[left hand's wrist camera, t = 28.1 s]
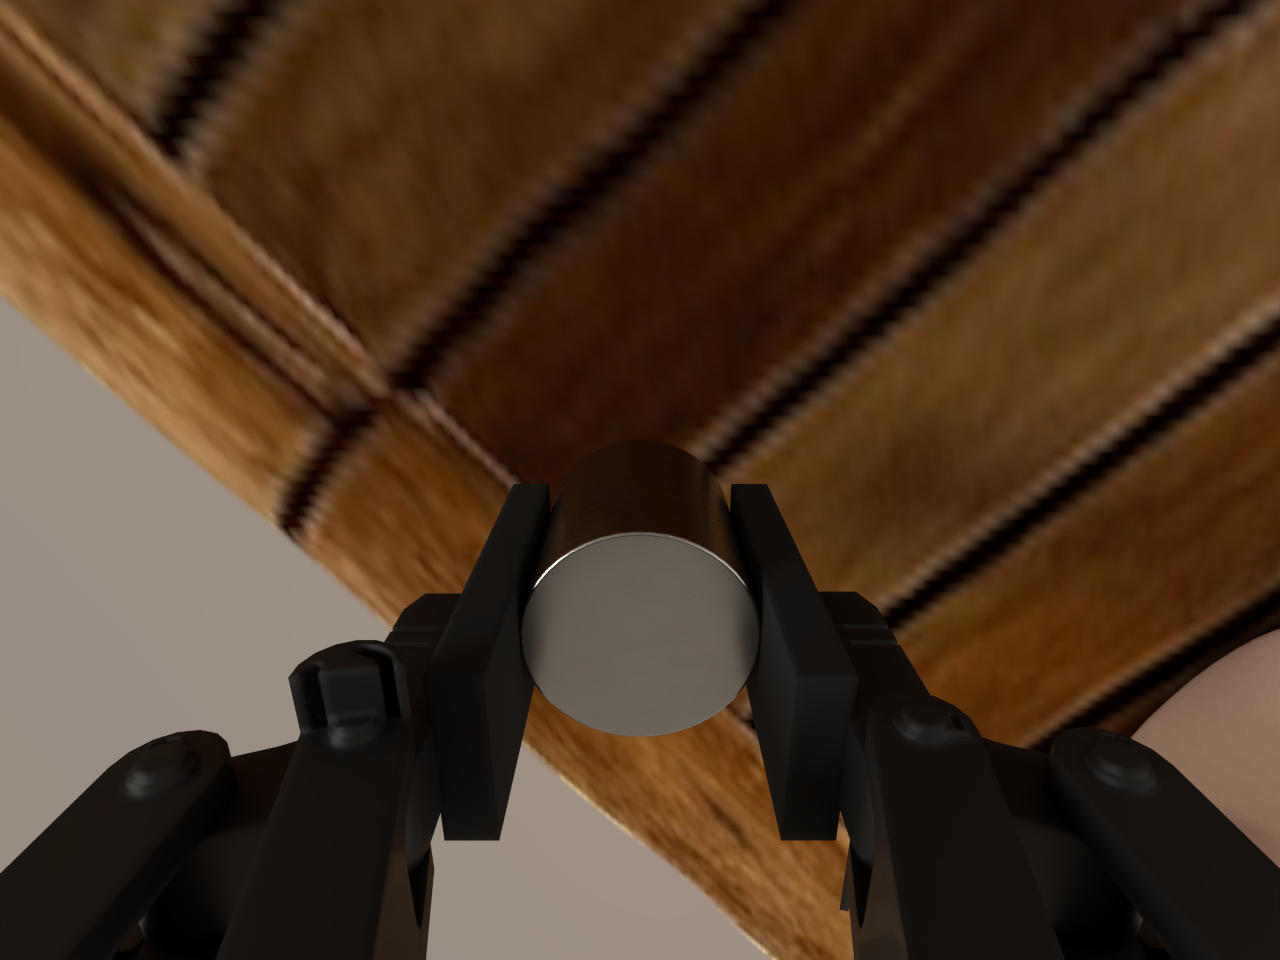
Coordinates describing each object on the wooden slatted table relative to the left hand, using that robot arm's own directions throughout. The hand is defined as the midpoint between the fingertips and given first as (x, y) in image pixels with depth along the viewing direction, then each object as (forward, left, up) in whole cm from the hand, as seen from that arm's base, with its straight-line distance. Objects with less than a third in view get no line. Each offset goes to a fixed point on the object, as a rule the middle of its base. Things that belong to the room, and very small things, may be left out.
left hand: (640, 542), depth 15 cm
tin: (0, 0, 0) cm, 0 cm away
